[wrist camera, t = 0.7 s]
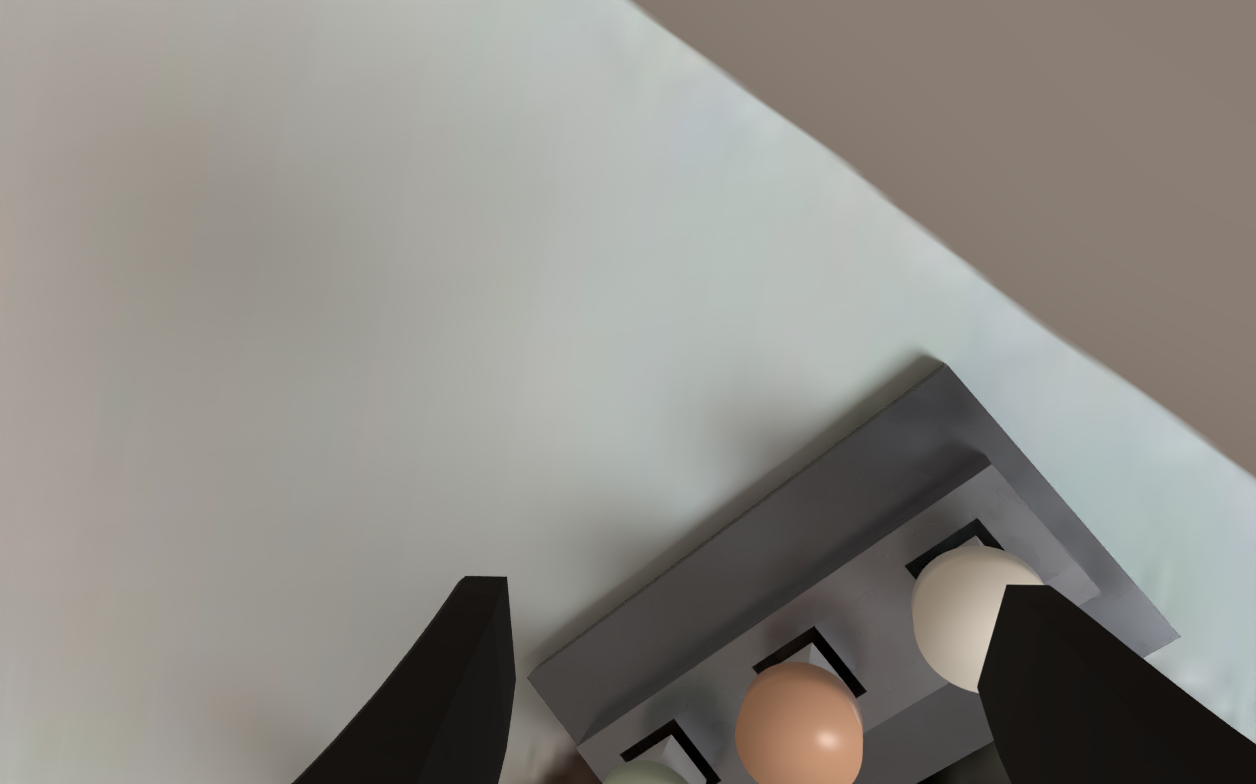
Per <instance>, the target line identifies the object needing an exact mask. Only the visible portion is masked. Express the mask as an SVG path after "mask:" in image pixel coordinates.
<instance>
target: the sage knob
mask: <svg viewBox="0 0 1256 784" xmlns="http://www.w3.org/2000/svg"><path fill="white" fill-rule="evenodd" d="M706 781H707V780H706V779H705V777H704V776H703V775H702V773H701V772H700V771H699V770H698V768H697V767H696V766H695V764H694V763H693V762H692V760H691V759H690V758H689V757H688V755H687V754H686V753H685V751H684V750H683V749H682V747H681V746H680V745H679V743H678V742H677V741H676V740H675V738H674V737H673V736H672V734H671V735H670V736H668V737H667V738H665V739H664V740H662V741H661V742H659V743H657V744H656V745H654V746H653V747H651V748H650V749H648V750H647V751H645V752H644V753H642V754H641V755H639V756H638V757H636V758H635V759H633V760H631V761H629V762H626V763H623V764H621V765H619V766H617V767H616V768H615V769H613V770H612V771H611V772H610V773H609V774H608V776H607V777H606V779H605V780H604V782H603V784H706Z"/></svg>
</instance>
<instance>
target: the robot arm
mask: <svg viewBox="0 0 1256 784" xmlns="http://www.w3.org/2000/svg"><path fill="white" fill-rule="evenodd" d="M515 682H516V674H515V663H514V652H513V640H512V629H511V617H510V606H509V594H508V583H507V577H492V576H465V577H464V578H463V579H461V580H460V581H459V582H458V583H457V585H456V586H455V588H454V589H453V591H452V592H451V594H450V595H449V597H448V598H447V600H446V601H445V603H444V604H443V605H442V607H441V608H440V610H439V611H438V613H437V614H436V615H435V617H434V618H433V620H432V621H431V622H430V624H429V625H428V626H427V628H426V629H425V630H424V632H423V633H422V634H421V636H420V637H419V638H418V640H417V641H416V643H415V644H414V645H413V646H412V648H411V649H410V650H409V652H408V653H407V654H406V655H405V657H404V658H403V659H402V660H401V662H400V663H399V664H398V665H397V667H396V668H395V669H394V670H393V672H392V673H391V674H390V676H389V677H388V678H387V679H386V681H385V682H384V683H383V684H382V686H381V687H380V688H379V689H378V690H377V692H376V693H375V694H374V695H373V696H372V698H371V699H370V700H369V701H368V702H367V703H366V704H365V705H364V707H363V708H362V709H361V710H360V711H359V712H358V713H357V715H356V716H355V717H354V718H353V719H352V720H351V721H350V722H349V724H348V725H347V726H346V727H345V728H344V729H343V730H342V732H341V733H340V734H339V735H338V736H337V737H336V738H335V739H334V741H333V742H332V743H331V744H330V745H329V746H328V747H327V748H326V749H325V750H324V751H323V752H322V753H321V754H320V755H319V757H318V758H317V759H316V760H315V761H314V762H313V763H312V764H311V765H310V766H309V767H308V768H307V769H306V770H305V771H304V772H303V773H302V774H301V775H300V776H299V777H298V778H297V779H296V780H295V781H294V782H293V783H292V784H498V782H499V778H500V774H501V770H502V765H503V761H504V757H505V753H506V749H507V742H508V735H509V728H510V721H511V713H512V705H513V698H514V690H515ZM977 689H978V692H979V696H980V699H981V702H982V705H983V708H984V712H985V715H986V718H987V721H988V724H989V727H990V730H991V733H992V736H993V739H994V742H995V745H996V748H997V750H998V753H999V756H1000V759H1001V761H1002V763H1003V765H1004V767H1005V770H1006V772H1007V774H1008V776H1009V778H1010V781H1011V783H1012V784H1256V744H1255V743H1253V742H1252V741H1251V740H1249V739H1248V738H1246V737H1245V736H1244V735H1242V734H1241V733H1239V732H1238V731H1237V730H1235V729H1234V728H1232V727H1231V726H1230V725H1228V724H1227V723H1226V722H1224V721H1223V720H1222V719H1220V718H1219V717H1218V716H1216V715H1215V714H1214V713H1212V712H1211V711H1210V710H1208V709H1207V708H1206V707H1204V706H1203V705H1202V704H1200V703H1199V702H1198V701H1197V700H1195V699H1194V698H1193V697H1191V696H1190V695H1189V694H1187V693H1186V692H1185V691H1184V690H1182V689H1181V688H1180V687H1178V686H1177V685H1176V684H1175V683H1173V682H1172V681H1171V680H1169V679H1168V678H1167V677H1166V676H1164V675H1163V674H1162V673H1160V672H1159V671H1158V670H1157V669H1155V668H1154V667H1153V666H1152V665H1150V664H1149V663H1148V662H1147V661H1145V660H1144V659H1143V658H1142V657H1140V656H1139V655H1138V654H1137V653H1135V652H1134V651H1133V650H1132V649H1130V648H1129V647H1128V646H1127V645H1125V644H1124V643H1123V642H1122V641H1120V640H1119V639H1118V638H1117V637H1115V636H1114V635H1113V634H1112V633H1110V632H1109V631H1108V630H1107V629H1105V628H1104V627H1103V626H1102V625H1100V624H1099V623H1098V622H1097V621H1095V620H1094V619H1093V618H1092V617H1090V616H1089V615H1088V614H1087V613H1085V612H1084V611H1083V610H1082V609H1080V608H1079V607H1078V606H1077V605H1075V604H1074V603H1073V602H1071V601H1070V600H1069V599H1068V598H1066V597H1065V596H1064V595H1062V594H1061V593H1060V592H1058V591H1057V590H1056V589H1054V588H1053V587H1051V586H1050V585H1015V584H1006V588H1005V591H1004V595H1003V598H1002V602H1001V605H1000V609H999V612H998V615H997V619H996V622H995V626H994V629H993V633H992V636H991V640H990V643H989V647H988V650H987V654H986V657H985V660H984V664H983V667H982V671H981V674H980V678H979V681H978V685H977Z"/></svg>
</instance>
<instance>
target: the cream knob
mask: <svg viewBox="0 0 1256 784" xmlns="http://www.w3.org/2000/svg"><path fill="white" fill-rule="evenodd" d="M1006 584H1015V585H1044V583H1043V582H1042V580H1041V579H1040V577H1039V576H1038V575H1037V573H1036V572H1035V571H1034V570H1033V569H1032V568H1031V567H1030V566H1029V565H1028V564H1026V563H1025V562H1024V561H1023V560H1021V559H1020V558H1018V557H1016V556H1015V555H1013V554H1011V553H1008V552H1006V551H1003V550H1000V549H997V548H993V547H987V546H984V544H983V543H982V542H981V541H980V540H979V538H978V537H977V536H974V537H973V538H971V539H970V540H968V541H966V542H965V543H963V544H962V545H960V546H959V547H957V548H956V549H952V550H950V551H947V552H945V553H943V554H941V555H939V556H938V557H936V558H935V559H934V560H932V561H931V562H930V563H929V564H928V565H927V566H926V567H925V568H924V569H923V570H922V572H921V573H920V575H919V576H918V578H917V580H916V582H915V585H914V588H913V592H912V599H911V607H912V617H913V625H914V633H915V637H916V641H917V644H918V647H919V649H920V651H921V653H922V655H923V657H924V658H925V659H926V661H927V662H928V664H929V665H930V666H931V667H932V668H933V669H934V670H935V671H936V672H937V673H938V674H939V675H940V676H942V677H943V678H944V679H946V680H947V681H949V682H950V683H952V684H954V685H956V686H958V687H961V688H963V689H966V690H969V691H972V692H976V693H979V692H978V689H977V685H978V681H979V678H980V674H981V671H982V667H983V664H984V660H985V657H986V654H987V650H988V647H989V643H990V640H991V636H992V633H993V629H994V626H995V622H996V619H997V615H998V612H999V609H1000V605H1001V602H1002V598H1003V595H1004V591H1005V588H1006Z"/></svg>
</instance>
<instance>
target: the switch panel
mask: <svg viewBox="0 0 1256 784" xmlns="http://www.w3.org/2000/svg"><path fill="white" fill-rule="evenodd" d="M976 518H978V519H979V520H980V521H981V523H982V524H983V525H984V526H985V527H986V528H987V530H988V531H989V532H990V533H991V534H992V536H993V537H994V538H995V539H996V540H997V542H998V543H999V544H1000V545H1001V546H1002V547H1003V549H1004V550H1005V551H1006V552H1008V553H1011V554H1013V555H1015V556H1016V557H1018V558H1020V559H1021V560H1023V561H1024V562H1025V563H1026V564H1028V565H1029V566H1030V567H1031V568H1032V569H1033V570H1034V571H1035V572H1036V573H1037V575H1038V576H1039V577H1040V579H1041V580H1042V582H1043V583H1044V585H1050V586H1051V587H1053V588H1054V589H1056V590H1057V591H1058V592H1060V593H1061V594H1062V595H1064V596H1065V597H1066V598H1068V599H1069V600H1070V601H1071V602H1073V603H1074V604H1075V605H1077V606H1078V607H1079V608H1080V609H1082V610H1083V611H1084V612H1085V613H1087V614H1088V615H1089V616H1090V617H1092V618H1093V619H1094V620H1095V621H1097V622H1098V623H1099V624H1100V625H1102V626H1103V627H1104V628H1105V629H1107V630H1108V631H1109V632H1110V633H1112V634H1113V635H1114V636H1115V637H1117V638H1118V639H1119V640H1120V641H1122V642H1123V643H1124V644H1125V645H1127V646H1128V647H1129V648H1130V649H1132V650H1133V651H1134V652H1135V653H1137V654H1138V655H1139V656H1140V657H1142V658H1144V657H1145V656H1147V655H1149V654H1151V653H1153V652H1154V651H1156V650H1158V649H1160V648H1162V647H1163V646H1165V645H1167V644H1169V643H1171V642H1172V641H1174V640H1176V639H1178V638H1180V637H1181V636H1180V635H1179V634H1178V633H1177V632H1176V631H1175V629H1174V628H1173V627H1172V626H1171V625H1170V624H1169V622H1168V621H1167V620H1166V619H1165V618H1164V617H1163V615H1162V614H1161V613H1160V612H1159V611H1158V610H1157V608H1156V607H1155V606H1154V605H1153V604H1152V603H1151V601H1150V600H1149V599H1148V598H1147V597H1146V596H1145V594H1144V593H1143V592H1142V591H1141V590H1140V589H1139V587H1138V586H1137V585H1136V584H1135V583H1134V582H1133V580H1132V579H1131V578H1130V577H1129V576H1128V575H1127V574H1126V572H1125V571H1124V570H1123V569H1122V568H1121V567H1120V565H1119V564H1118V563H1117V562H1116V561H1115V560H1114V558H1113V557H1112V556H1111V555H1110V554H1109V553H1108V551H1107V550H1106V549H1105V548H1104V547H1103V546H1102V544H1101V543H1100V542H1099V541H1098V540H1097V539H1096V537H1095V536H1094V535H1093V534H1092V533H1091V532H1090V530H1089V529H1088V528H1087V527H1086V526H1085V525H1084V523H1083V522H1082V521H1081V520H1080V519H1079V518H1078V516H1077V515H1076V514H1075V513H1074V512H1073V511H1072V509H1071V508H1070V507H1069V506H1068V505H1067V504H1066V502H1065V501H1064V500H1063V499H1062V498H1061V497H1060V496H1059V494H1058V493H1057V492H1056V491H1055V490H1054V489H1053V487H1052V486H1051V485H1050V484H1049V483H1048V482H1047V480H1046V479H1045V478H1044V477H1043V476H1042V475H1041V473H1040V472H1039V471H1038V470H1037V469H1036V468H1035V466H1034V465H1033V464H1032V463H1031V462H1030V461H1029V459H1028V458H1027V457H1026V456H1025V455H1024V454H1023V452H1022V451H1021V450H1020V449H1019V448H1018V447H1017V445H1016V444H1015V443H1014V442H1013V441H1012V440H1011V438H1010V437H1009V436H1008V435H1007V434H1006V433H1005V431H1004V430H1003V429H1002V428H1001V427H1000V426H999V424H998V423H997V422H996V421H995V420H994V419H993V418H992V416H991V415H990V414H989V413H988V412H987V411H986V409H985V408H984V407H983V406H982V405H981V404H980V402H979V401H978V400H977V399H976V398H975V397H974V395H973V394H972V393H971V392H970V391H969V390H968V388H967V387H966V386H965V385H964V384H963V383H962V381H961V380H960V379H959V378H958V377H957V376H956V374H955V373H954V372H953V371H952V370H951V369H950V367H949V366H948V365H947V364H946V363H945V364H944V365H942V366H941V367H940V368H938V369H937V370H936V371H934V372H933V373H932V374H930V375H929V376H927V377H926V378H925V379H923V380H922V381H921V382H919V383H918V384H917V385H915V386H914V387H913V388H911V389H910V390H909V391H907V392H906V393H905V394H903V395H902V396H901V397H899V398H898V399H897V400H895V401H894V402H893V403H891V404H890V405H888V406H887V407H886V408H884V409H883V410H882V411H880V412H879V413H878V414H876V415H875V416H874V417H872V418H871V419H870V420H868V421H867V422H866V423H864V424H863V425H862V426H860V427H859V428H858V429H856V430H855V431H854V432H852V433H851V434H849V435H848V436H847V437H845V438H844V439H843V440H841V441H840V442H839V443H837V444H836V445H835V446H833V447H832V448H831V449H829V450H828V451H827V452H825V453H824V454H823V455H821V456H820V457H819V458H817V459H816V460H815V461H813V462H812V463H810V464H809V465H808V466H806V467H805V468H804V469H802V470H801V471H800V472H798V473H797V474H796V475H794V476H793V477H792V478H790V479H789V480H788V481H786V482H785V483H784V484H782V485H781V486H780V487H778V488H777V489H776V490H774V491H773V492H771V493H770V494H769V495H767V496H766V497H765V498H763V499H762V500H761V501H759V502H758V503H757V504H755V505H754V506H753V507H751V508H750V509H749V510H747V511H746V512H745V513H743V514H742V515H741V516H739V517H738V518H737V519H735V520H734V521H732V522H731V523H730V524H728V525H727V526H726V527H724V528H723V529H722V530H720V531H719V532H718V533H716V534H715V535H714V536H712V537H711V538H710V539H708V540H707V541H706V542H704V543H703V544H702V545H700V546H699V547H697V548H696V549H695V550H693V551H692V552H691V553H689V554H688V555H687V556H685V557H684V558H683V559H681V560H680V561H679V562H677V563H676V564H675V565H673V566H672V567H671V568H669V569H668V570H667V571H665V572H664V573H663V574H661V575H660V576H658V577H657V578H656V579H654V580H653V581H652V582H650V583H649V584H648V585H646V586H645V587H644V588H642V589H641V590H640V591H638V592H637V593H636V594H634V595H633V596H632V597H630V598H629V599H628V600H626V601H625V602H624V603H622V604H621V605H619V606H618V607H617V608H615V609H614V610H613V611H611V612H610V613H609V614H607V615H606V616H605V617H603V618H602V619H601V620H599V621H598V622H597V623H595V624H594V625H593V626H591V627H590V628H589V629H587V630H586V631H585V632H583V633H582V634H580V635H579V636H578V637H576V638H575V639H574V640H572V641H571V642H570V643H568V644H567V645H566V646H564V647H563V648H562V649H560V650H559V651H558V652H556V653H555V654H554V655H552V656H551V657H550V658H548V659H547V660H546V661H544V662H543V663H541V664H540V665H539V666H537V667H536V668H535V669H534V670H533V672H532V673H531V674H530V675H529V676H528V677H527V678H528V680H529V681H530V682H531V684H532V685H533V686H534V688H535V689H536V690H537V692H538V693H539V694H540V696H541V697H542V698H543V700H544V701H545V702H546V704H547V705H548V706H549V708H550V709H551V710H552V712H553V713H554V714H555V716H556V717H557V718H558V720H559V721H560V722H561V723H562V725H563V726H564V727H565V729H566V730H567V731H568V733H569V734H570V735H571V737H572V738H573V739H574V741H575V742H576V743H577V747H576V749H577V750H578V752H579V753H580V754H581V756H582V757H583V758H584V760H585V761H586V762H587V764H588V765H589V766H590V768H591V769H592V770H593V772H594V773H595V774H596V776H597V777H598V778H599V780H600V781H601V782H602V784H603V782H604V780H605V779H606V777H607V776H608V774H609V773H610V772H611V771H612V770H613V769H615V768H616V767H617V766H619V765H621V764H623V763H626V762H629V761H631V760H633V759H635V758H636V757H638V756H639V755H641V754H642V753H644V752H645V751H647V750H648V749H650V748H651V747H653V746H654V745H656V744H655V743H654V742H653V740H652V739H651V738H650V737H649V735H650V734H651V733H653V732H654V731H656V730H657V729H659V728H660V727H662V726H663V725H665V724H666V723H668V722H669V721H671V720H672V719H675V721H676V722H677V723H678V725H679V726H680V727H681V728H682V730H683V731H684V732H685V734H686V735H687V736H688V738H689V739H690V740H691V741H692V743H693V744H694V745H695V747H696V748H697V749H698V751H699V752H700V753H701V754H702V756H703V757H704V758H705V760H706V762H704V763H703V764H701V765H699V766H698V767H697V768H698V770H699V771H700V772H701V773H702V775H703V776H704V777H705V779H706V780H707V781H706V784H759V783H758V782H757V781H755V780H754V778H753V777H752V776H751V775H750V774H749V773H748V771H747V770H746V768H745V767H744V765H743V763H742V761H741V759H740V757H739V754H738V751H737V747H736V741H735V728H736V722H737V719H738V716H739V713H740V710H741V707H742V703H743V700H744V697H745V694H746V691H747V689H748V687H749V685H750V684H751V682H752V681H753V680H754V679H755V678H756V677H757V675H758V674H760V673H761V672H762V671H764V670H765V669H767V668H769V667H771V666H774V665H776V664H780V662H779V660H778V659H777V658H776V657H775V655H774V654H773V653H774V652H775V651H777V650H778V649H780V648H781V647H783V646H784V645H786V644H787V643H789V642H790V641H792V640H793V639H795V638H796V637H798V636H799V635H801V634H802V633H804V632H805V631H807V630H808V629H810V628H811V627H813V626H815V627H816V629H817V630H818V631H819V632H820V633H821V635H822V636H823V637H824V638H825V640H826V641H827V642H828V643H829V645H830V646H831V647H832V648H833V650H834V651H835V652H836V653H837V655H838V656H839V657H840V658H841V660H842V661H843V662H844V663H845V665H846V666H847V667H848V668H849V670H850V671H849V672H848V673H846V674H844V675H843V676H841V677H840V678H841V679H842V680H843V681H844V683H845V684H846V685H847V686H848V688H849V689H850V690H851V691H852V693H853V694H854V696H855V698H856V700H857V701H858V704H859V706H860V709H861V713H862V717H863V754H862V763H861V768H860V770H859V773H858V775H857V777H856V779H855V780H854V782H853V783H852V784H916V783H918V782H920V781H922V780H924V779H925V778H927V777H929V776H931V775H933V774H934V773H936V772H938V771H940V770H942V769H943V768H945V767H947V766H949V765H951V764H953V763H954V762H956V761H958V760H960V759H962V758H963V757H965V756H967V755H969V754H971V753H972V752H974V751H976V750H978V749H980V748H981V747H983V746H985V745H987V744H989V743H990V742H992V741H994V739H993V736H992V733H991V730H990V727H989V724H988V721H987V718H986V715H985V712H984V708H983V705H982V702H981V699H980V696H979V693H976V692H972V691H969V690H966V689H963V688H961V687H958V686H956V685H954V684H952V683H950V682H949V681H947V680H946V679H944V678H943V677H942V676H940V675H939V674H938V673H937V672H936V671H935V670H934V669H933V668H932V667H931V666H930V665H929V664H928V662H927V661H926V659H925V658H924V657H923V655H922V653H921V651H920V649H919V647H918V644H917V641H916V637H915V633H914V625H913V617H912V607H911V599H912V592H913V588H914V585H915V582H916V580H917V578H918V576H919V575H920V573H921V572H922V570H923V568H922V567H921V566H920V565H919V564H918V562H917V561H916V560H915V559H916V558H917V557H919V556H920V555H922V554H923V553H925V552H926V551H928V550H929V549H931V548H932V547H934V546H935V545H937V544H938V543H940V542H941V541H943V540H944V539H946V538H948V537H949V536H951V535H952V534H954V533H955V532H957V531H958V530H960V529H961V528H963V527H964V526H966V525H967V524H969V523H970V522H972V521H973V520H975V519H976Z"/></svg>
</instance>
